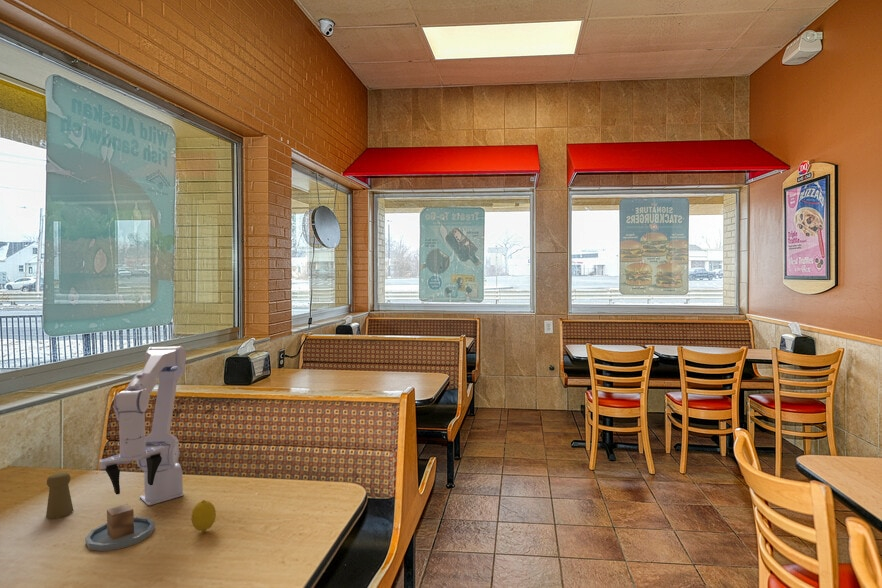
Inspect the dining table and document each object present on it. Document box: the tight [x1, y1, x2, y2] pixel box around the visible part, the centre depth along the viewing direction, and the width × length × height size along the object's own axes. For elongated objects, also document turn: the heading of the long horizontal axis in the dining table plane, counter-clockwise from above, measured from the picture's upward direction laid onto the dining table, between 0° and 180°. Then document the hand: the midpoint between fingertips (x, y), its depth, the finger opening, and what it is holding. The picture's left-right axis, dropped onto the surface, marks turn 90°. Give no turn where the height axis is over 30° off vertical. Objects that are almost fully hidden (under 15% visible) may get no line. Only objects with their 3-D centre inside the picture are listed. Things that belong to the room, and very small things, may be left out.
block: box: [106, 503, 135, 540], centre depth 128 cm, size 5×5×6 cm
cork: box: [45, 471, 74, 520], centre depth 140 cm, size 6×6×11 cm
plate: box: [84, 516, 155, 552], centre depth 128 cm, size 14×14×1 cm
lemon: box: [190, 499, 217, 533], centre depth 129 cm, size 6×6×8 cm
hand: (134, 488), depth 133 cm, fingers open, 7 cm apart
